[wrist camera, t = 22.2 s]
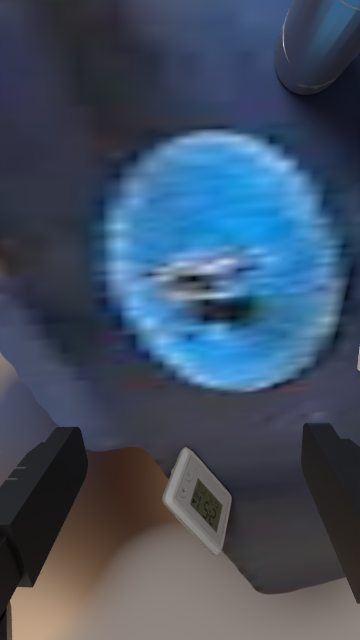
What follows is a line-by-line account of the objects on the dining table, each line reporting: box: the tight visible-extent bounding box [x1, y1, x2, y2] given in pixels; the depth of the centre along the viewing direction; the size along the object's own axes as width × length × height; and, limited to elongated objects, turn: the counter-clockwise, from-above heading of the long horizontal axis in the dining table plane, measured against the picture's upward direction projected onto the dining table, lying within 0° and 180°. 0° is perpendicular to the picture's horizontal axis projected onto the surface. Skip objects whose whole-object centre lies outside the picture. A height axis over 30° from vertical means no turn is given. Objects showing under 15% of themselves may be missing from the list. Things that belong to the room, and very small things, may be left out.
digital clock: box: [163, 447, 232, 556], centre depth 51 cm, size 16×9×11 cm, turn 26°
